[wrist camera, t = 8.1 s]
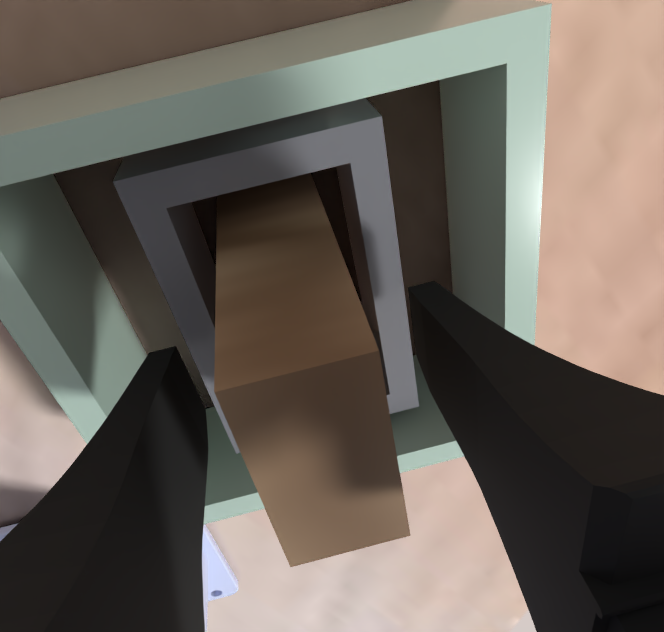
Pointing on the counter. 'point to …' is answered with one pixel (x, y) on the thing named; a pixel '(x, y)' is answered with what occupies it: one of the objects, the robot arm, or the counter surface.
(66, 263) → the sage green storage tray
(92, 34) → the counter surface
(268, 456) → the wood grain brick
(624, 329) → the counter surface
